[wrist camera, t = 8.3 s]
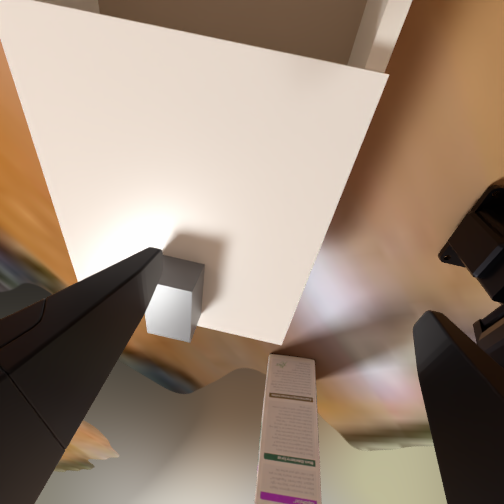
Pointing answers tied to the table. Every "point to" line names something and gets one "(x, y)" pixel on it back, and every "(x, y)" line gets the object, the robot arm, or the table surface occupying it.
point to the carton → (276, 24)
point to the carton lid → (188, 158)
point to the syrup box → (289, 434)
